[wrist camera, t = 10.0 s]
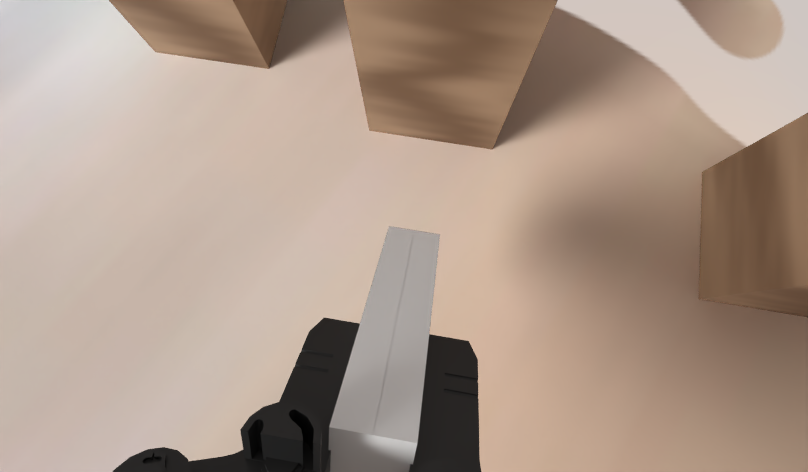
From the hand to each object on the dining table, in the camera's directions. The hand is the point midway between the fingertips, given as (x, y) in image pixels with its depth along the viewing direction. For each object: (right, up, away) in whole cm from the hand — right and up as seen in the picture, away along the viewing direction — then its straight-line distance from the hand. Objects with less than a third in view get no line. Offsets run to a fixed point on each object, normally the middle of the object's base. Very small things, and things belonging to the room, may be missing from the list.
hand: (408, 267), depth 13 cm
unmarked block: (+2, +9, +9) cm, 12 cm away
